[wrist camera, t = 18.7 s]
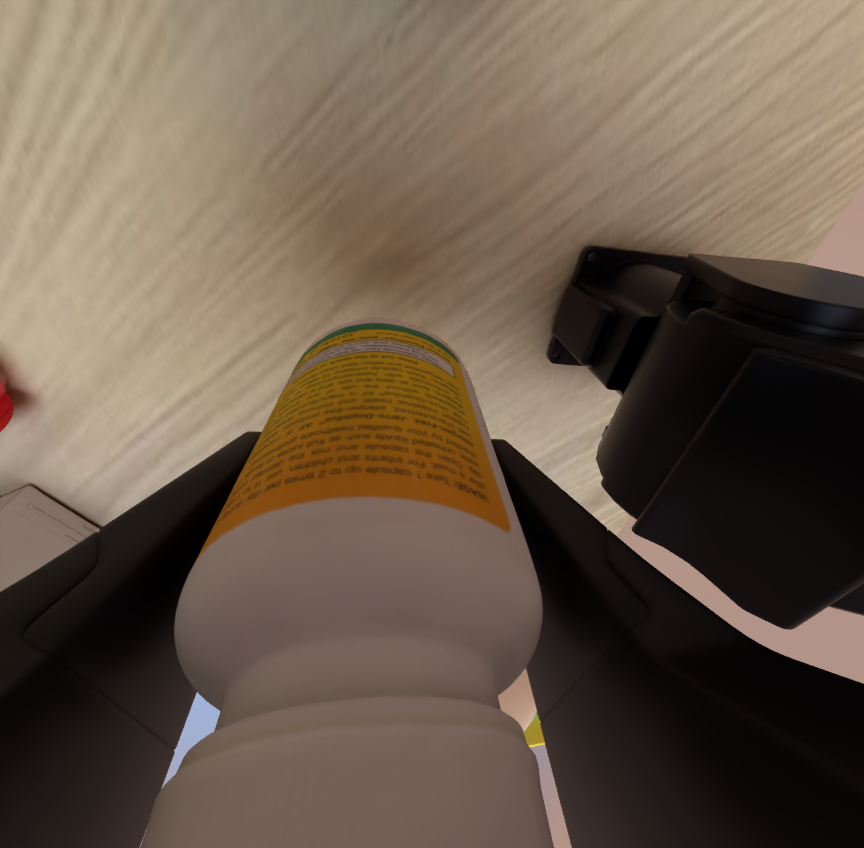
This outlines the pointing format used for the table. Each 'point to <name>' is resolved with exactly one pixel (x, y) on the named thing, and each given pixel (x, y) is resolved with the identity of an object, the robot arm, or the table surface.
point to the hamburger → (523, 709)
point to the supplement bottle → (361, 620)
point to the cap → (5, 407)
